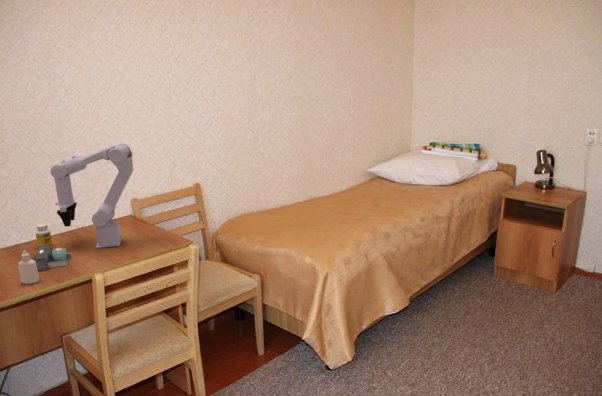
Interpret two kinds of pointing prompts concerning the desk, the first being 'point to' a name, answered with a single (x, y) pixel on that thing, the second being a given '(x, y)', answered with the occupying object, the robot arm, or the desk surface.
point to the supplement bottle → (43, 235)
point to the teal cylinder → (59, 254)
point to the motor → (48, 258)
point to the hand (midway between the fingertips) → (69, 223)
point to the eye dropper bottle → (28, 269)
